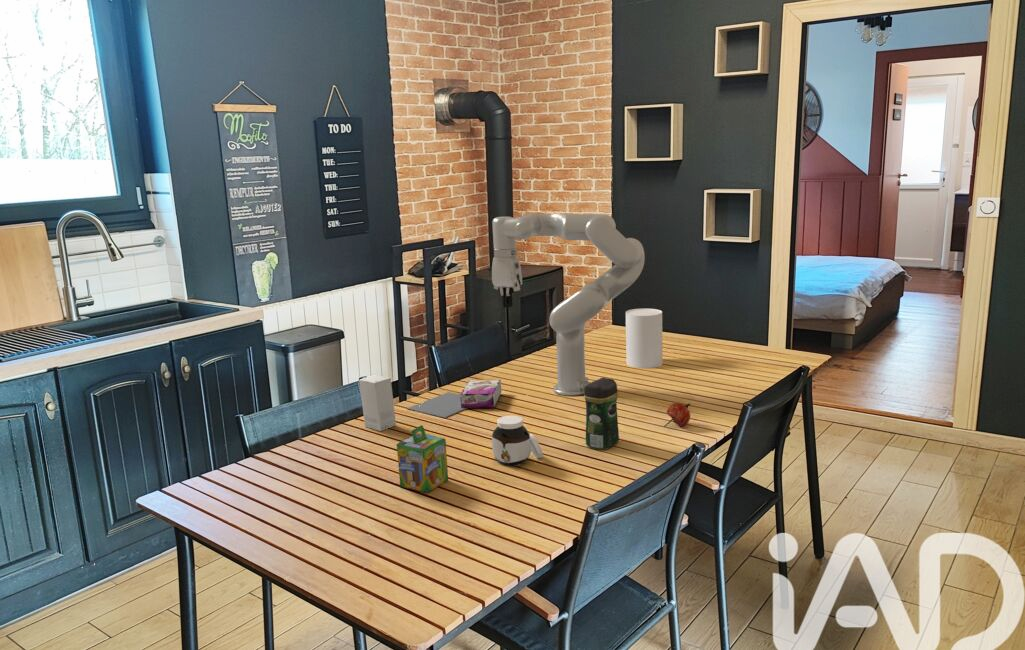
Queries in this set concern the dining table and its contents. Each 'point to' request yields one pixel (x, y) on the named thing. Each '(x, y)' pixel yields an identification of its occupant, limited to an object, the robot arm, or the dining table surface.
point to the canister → (644, 338)
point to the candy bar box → (480, 393)
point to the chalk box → (422, 461)
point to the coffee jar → (601, 413)
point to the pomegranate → (679, 414)
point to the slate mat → (441, 405)
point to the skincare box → (377, 402)
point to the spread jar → (513, 442)
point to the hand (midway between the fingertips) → (507, 306)
